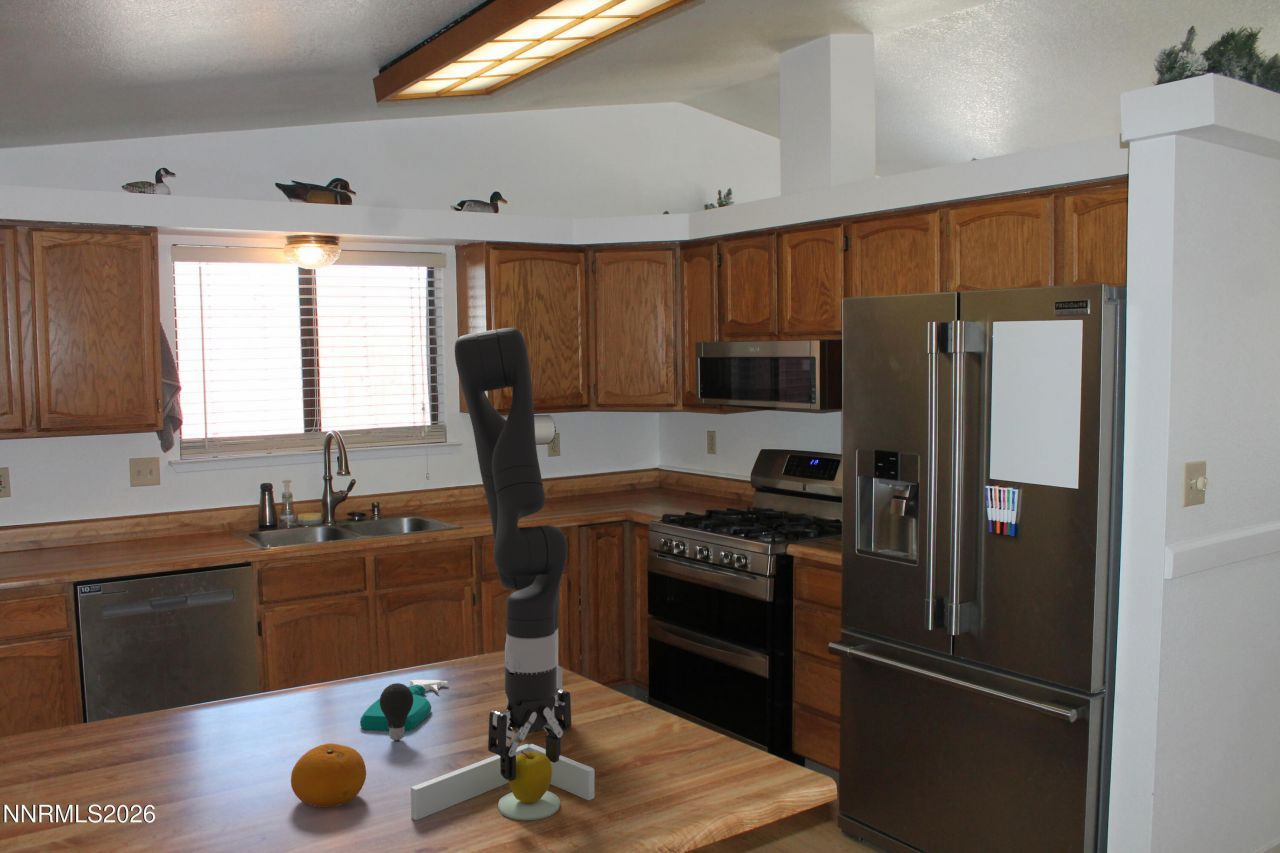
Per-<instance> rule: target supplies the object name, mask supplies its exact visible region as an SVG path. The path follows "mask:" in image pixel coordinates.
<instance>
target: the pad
mask: <svg viewBox="0 0 1280 853" xmlns="http://www.w3.org/2000/svg"><path fill="white" fill-rule="evenodd" d="M497 803H498V807H497V808H498V812H499V813H500V814H501V815H502V816H504V817H505V818H508V819H510V820H516V821H527V822H529V821H537V820H542V819H546V818H549V817H552V816H553V815H555V814H556V813H557V812H558V811H559V809H560V806H561V800H560V798H559V797H558V795H556V794H555V793H553V792H551V791H548V790H547V791H546V792H545V794H544V795H543V796H542V798H541V799H539V800H538V801H537V802H535V803H523V802H521V801H519V800H517V799H516V798H515V797H514V795H513V792H509V793H507V794H505V795H503V796H502V797H501V798H499V800H498V802H497Z"/></svg>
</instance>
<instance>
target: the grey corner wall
mask: <svg viewBox="0 0 1280 853" xmlns="http://www.w3.org/2000/svg"><path fill="white" fill-rule="evenodd" d="M521 751H522V752H524V753H526V752H539V753H542V754H544V755H545V756H546V748H543V747H541V746H539V745H536V744H533V743H530V744H528V743H524V744H523V745H519V746H518V748H517V750H516V752H515V754H514V755H516V756H517V755H519V754H522V753H521ZM550 762H551V761H550ZM551 766H552V776H551V782H550V785H552V786H554V787H556V788H559V789H560V790H564V791H566V792H569V793H571V794H573V795H575V796H577V797H580V798H582V799H584V800H587V801H591V800H593V799H595V773H596V772H595V768H594V767H592V766H589V765H586V764H583V763H581V762H578V761H575V760H574V759H570V758H568V757H566V756H563V755H561V754H560V757H559V761H557V762H555V763H553V762H551ZM500 769H501V768H500V756H499V755H497V754H495V755H494V756H493V755H492V756H491V757H488V758H485V759H483V760H480V761H478V762H475V763H472V764H469V765H466V766H464V767H461V768H458V769H456V770H453V771H451V772H448V773H446V774H443V775H440V776H438V777H435V778H433V779H430V780H427V781H424V782H422V783H419V784H415V785H414V786H410V818H411V819H413V820H415V821H418V820H421V819H423V818H426V817H428V816H430V815H432V814H435V813H437V812H441V811H443V810H445V809H448V808H450V807H452V806H454V805H457V804H459V803H462V802H465V801H467V800H469V799H472V798H474V797H478V796H479V795H482V794H485V793H487V792H489V791H491V790H493V789H495V790H496V789H497V788H499V787H502V786H505V785H506V784H509V782H508V780H507V779H505V778H503V776H502V775H501V773H500Z"/></svg>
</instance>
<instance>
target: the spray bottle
mask: <svg viewBox="0 0 1280 853" xmlns="http://www.w3.org/2000/svg"><path fill="white" fill-rule="evenodd" d="M409 681H410V682H409V686H407V687H408V688H409V689H410V690H411V692H412V694H413V705H412V708H411V710H410V712H409V714H408V716H407V718H406V723H405V726H404V733H405V732H410V731H412V730H414V729H416V727H418V726H419V725H421V723H422V722H423V721H425V719H426V718H427V716H428V715H429V714H430V713H431V711H432V705H431V702H430V701H429V700H428V699H427V698H426V697H425V696H424V695H425V694H426V692H429V691H431V690H433V691H435V692H436V693H439V689H441V687H444V688H445V687H447V688H448V685H449V682H448V680H440V679H410V680H409ZM359 722H360V723H359V724H360V727H361V729H362V730H365V731H377V732H389V726H388V721H387V719H386V717H385V715H384V714H383V712H382V710H381V707H380V698H378V699H377V700H376V701H375V702H373V703H372V704H371V705H370V706H369V707H368V708H367V709H366V710H365V711H364V712H363V714H362V716H361V717H360V720H359Z"/></svg>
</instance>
